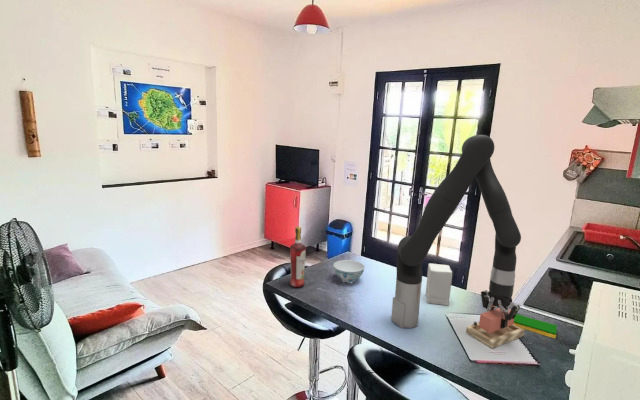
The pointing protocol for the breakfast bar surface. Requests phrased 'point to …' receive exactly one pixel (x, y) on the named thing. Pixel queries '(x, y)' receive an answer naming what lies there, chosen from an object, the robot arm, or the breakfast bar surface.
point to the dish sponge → (535, 326)
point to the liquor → (297, 260)
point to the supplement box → (438, 284)
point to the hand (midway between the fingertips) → (496, 324)
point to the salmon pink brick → (492, 320)
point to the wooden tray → (495, 334)
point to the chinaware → (348, 270)
